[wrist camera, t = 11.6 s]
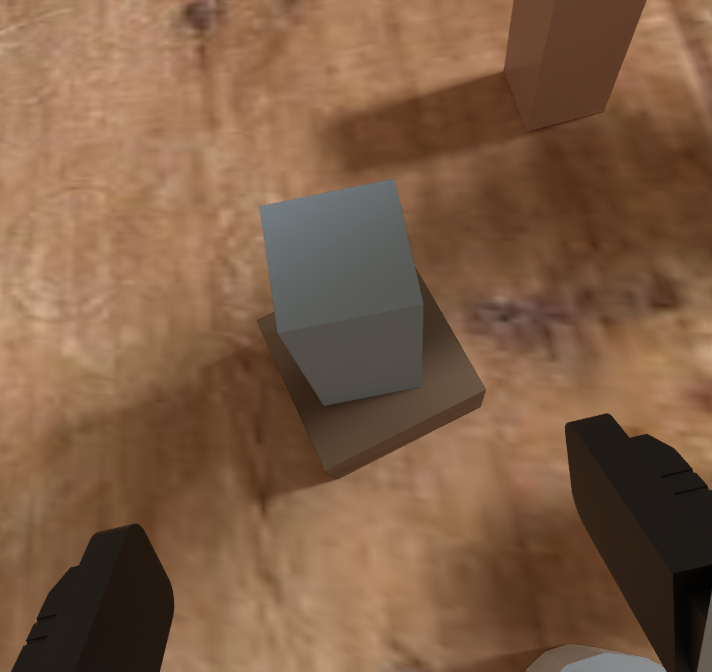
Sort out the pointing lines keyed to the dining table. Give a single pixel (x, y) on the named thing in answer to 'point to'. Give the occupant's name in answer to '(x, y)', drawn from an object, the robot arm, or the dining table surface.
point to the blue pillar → (346, 291)
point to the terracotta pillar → (566, 56)
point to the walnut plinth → (384, 398)
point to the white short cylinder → (591, 661)
